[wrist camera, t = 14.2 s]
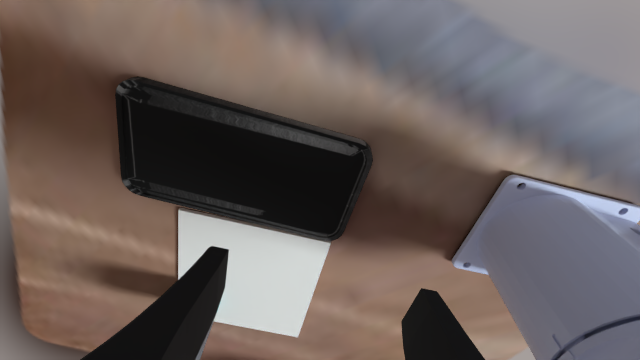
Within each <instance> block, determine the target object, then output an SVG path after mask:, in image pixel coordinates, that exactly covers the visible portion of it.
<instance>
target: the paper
mask: <svg viewBox="0 0 640 360" xmlns="http://www.w3.org/2000/svg"><path fill="white" fill-rule="evenodd" d="M330 244H331V241H324V240H319V239H315V238H311V237H307V236H303V235H299V234H295V233H291V232H287V231H283V230H279V229H275V228H271V227H267V226H262V225H258V224H253V223H249V222H244V221H240V220H235V219H230V218H226V217H221V216H217V215H212V214H208V213H203V212H198V211H194V210H189V209H185V208H180V209H179V210H178V280H179V279H180V278H181V277H182V276H183V275H184V274H185V273H186V272H187V271H188V270H189V269H190V268H191V267H192V266H193V264H194V263H195V262H196V261H197V260H198V259H199V258H200V257H201V256H202V255H203V254H204V252H205V251H206V250H207V249H208V248H209V247H211V246H215V247H220V248H225V249H229V254H228V264H227V274H226V284H225V289H224V292H223V295H222V298H221V302H220V305H219V308H218V311H217V314H216V316H215V319H214V321H215V322H220V323H226V324H231V325H236V326H241V327H247V328H252V329H257V330H262V331H268V332H273V333H278V334H283V335H288V336H294V337H298V335H299V332H300V330H301V327H302V324H303V321H304V318H305V315H306V312H307V310H308V307H309V304H310V301H311V298H312V295H313V293H314V290H315V287H316V284H317V281H318V278H319V275H320V273H321V270H322V267H323V264H324V261H325V258H326V255H327V253H328V250H329V247H330Z"/></svg>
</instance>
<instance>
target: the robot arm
mask: <svg viewBox="0 0 640 360" xmlns="http://www.w3.org/2000/svg"><path fill="white" fill-rule="evenodd" d="M520 183H523V184H522V185H521V186H519V187H517V186H518V185H519V184H520ZM639 221H640V206H638V205H634V204H630V203H626V202H622V201H618V200H614V199H610V198H606V197H602V196H598V195H594V194H590V193H586V192H582V191H578V190H574V189H570V188H566V187H562V186H558V185H554V184H550V183H546V182H542V181H538V180H534V179H530V178H526V177H522V176H518V175H510V176H508V177H506V178H505V179H504V181H503V182H502V184H501V185H500V187H499V188H498V190H497V191H496V193H495V194H494V196H493V197H492V199H491V200H490V202H489V204H488V205H487V207H486V208H485V210H484V211H483V213H482V214H481V216H480V217H479V219H478V220H477V222H476V223H475V225H474V227H473V228H472V230H471V231H470V233H469V234H468V236H467V237H466V239H465V240H464V242H463V243H462V245H461V246H460V248H459V250H458V251H457V253H456V254H455V256H454V257H453V259H452V263H453V266H454V267H456V268H460V269H464V270H469V271H473V272H478V273H483V274H487V275H489V276H490V278H491V279H492V281H493V283H494V285H495V287H496V288H497V290H498V292H499V294H500V296H501V297H502V299H503V301H504V303H505V305H506V306H507V308H508V310H509V312H510V314H511V315H512V317H513V319H514V321H515V323H516V325H517V326H518V328H519V330H520V332H521V334H522V335H523V337H524V339H525V341H526V343H527V344H528V346H529V348H530V350H531V352H532V353H533V355H534V357H535V359H536V360H640V226H639V225H638V224H637V223H638V222H639ZM228 254H229V249H225V248H220V247H215V246H211V247H209V248H208V249H207V250H206V251H205V252H204V254H203V255H202V256H201V257H200V258H199V259H198V260H197V261H196V262H195V263H194V264H193V266H192V267H191V268H190V269H189V270H188V271H187V272H186V273H185V274H184V275H183V276H182V277H181V278H180V279H179V280H178V281H177V282H175V283H174V284H173V285H172V286H171V287H170V288H169V289H168V290H167V291H166V292H165V293H164V294H163V295H162V296H161V297H159V298H158V299H157V300H156V301H155V302H154V303H153V304H151V305H150V306H149V307H148V308H147V309H146V310H145V311H143V312H142V313H141V314H140V315H139V316H138V317H136V318H135V319H134V320H133V321H131V322H130V323H129V324H128V325H126V326H125V327H124V328H123V329H121V330H120V331H119V332H118V333H116V334H115V335H114V336H112V337H111V338H110V339H108V340H107V341H106V342H104V343H103V344H102V345H100V346H99V347H97V348H96V349H95V350H93V351H92V352H90V353H89V354H88V355H86V356H85V357H83V358H82V359H81V360H195V359H196V357H197V355H198V353H199V351H200V348H201V346H202V344H203V342H204V340H205V338H206V335H207V333H208V331H209V329H210V327H211V324H212V322H213V320H214V318H215V316H216V313H217V310H218V307H219V304H220V301H221V298H222V295H223V292H224V289H225V284H226V274H227V264H228ZM464 263H465V264H464ZM402 336H403V347H404V354H405V360H485V359H484V358H483V356H482V355H481V353H480V352H479V351H478V349H477V348H476V347H475V345H474V344H473V342H472V341H471V340H470V338H469V337H468V335H467V334H466V333H465V331H464V330H463V328H462V327H461V325H460V324H459V322H458V321H457V320H456V318H455V317H454V315H453V314H452V312H451V311H450V309H449V308H448V306H447V305H446V304H445V302H444V301H443V299H442V298H441V296H440V295H439V294H438V292H437V291H432V290H427V289H422V288H421V290H420V291H419V293H418V295H417V296H416V298H415V300H414V301H413V303H412V305H411V306H410V308H409V310H408V312H407V313H406V315H405V317H404V318H403V320H402Z"/></svg>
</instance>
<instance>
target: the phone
mask: <svg viewBox="0 0 640 360" xmlns="http://www.w3.org/2000/svg"><path fill="white" fill-rule="evenodd" d="M115 96H116V110H117V124H118V138H119V152H120V166H121V178H122V181H123V183H124V185H125V186H126V187H127V188H128V189H129V190H130V191H131V192H133V193H135V194H137V195H140V196H144V197H148V198H152V199H156V200H160V201H165V202H169V203H173V204H177V205H181V206H185V207H189V208H193V209H197V210H201V211H205V212H209V213H214V214H218V215H222V216H226V217H230V218H234V219H238V220H242V221H246V222H250V223H254V224H258V225H262V226H267V227H271V228H275V229H279V230H283V231H287V232H291V233H295V234H299V235H303V236H307V237H311V238H315V239H319V240H324V241H332V240H335V239H338V238H339V237H340V236H341V235H342V234H343V232H344V230H345V228H346V225H347V223H348V221H349V218H350V216H351V213H352V211H353V209H354V206H355V204H356V201H357V199H358V197H359V194H360V192H361V190H362V187H363V185H364V182H365V180H366V178H367V175H368V173H369V170H370V168H371V166H372V161H373V159H372V153H371V149H370V147H369V145H368V144H367V143H366V142H365V141H363V140H361V139H359V138H356V137H352V136H349V135H345V134H342V133H338V132H334V131H331V130H327V129H324V128H320V127H317V126H313V125H310V124H306V123H303V122H299V121H296V120H292V119H289V118H285V117H282V116H278V115H274V114H271V113H267V112H264V111H260V110H257V109H253V108H250V107H246V106H243V105H239V104H236V103H232V102H229V101H225V100H222V99H218V98H214V97H211V96H207V95H204V94H200V93H197V92H193V91H190V90H186V89H183V88H179V87H176V86H172V85H169V84H165V83H162V82H158V81H154V80H151V79H147V78H144V77H134V78H130V79H128V80H125V81H123V82H121V83H120V84H119V85H118V87H117V89H116V95H115Z"/></svg>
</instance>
